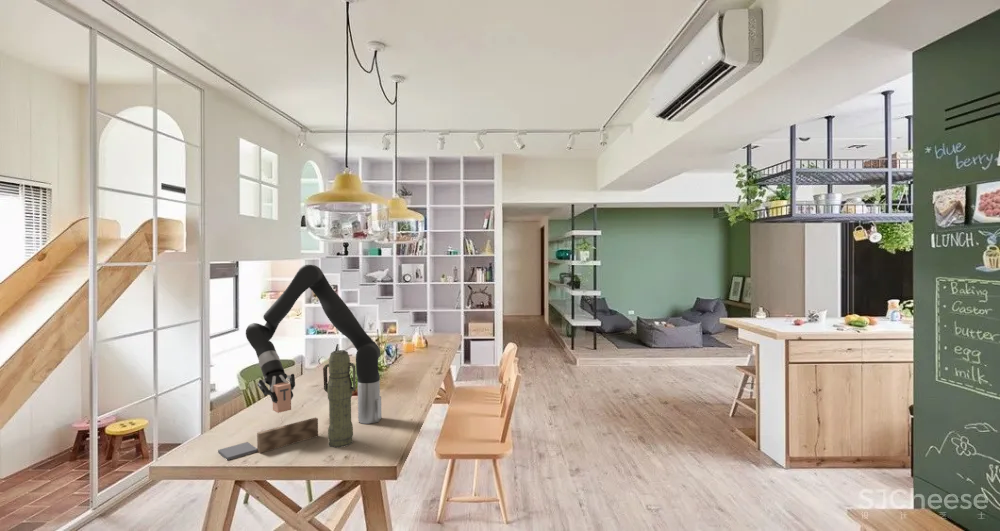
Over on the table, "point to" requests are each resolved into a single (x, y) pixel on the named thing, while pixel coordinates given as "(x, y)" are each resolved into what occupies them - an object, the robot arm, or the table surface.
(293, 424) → the walnut screen
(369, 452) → the table surface
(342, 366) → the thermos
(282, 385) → the marked block
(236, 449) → the charcoal mat
